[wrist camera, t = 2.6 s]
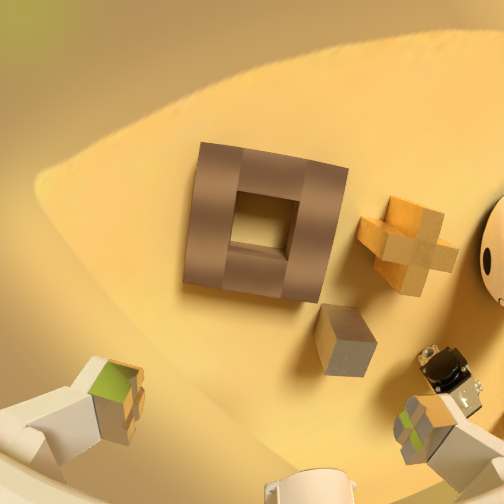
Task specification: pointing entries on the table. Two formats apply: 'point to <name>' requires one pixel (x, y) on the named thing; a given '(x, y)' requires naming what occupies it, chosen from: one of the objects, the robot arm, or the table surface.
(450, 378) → the pneumatic valve
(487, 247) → the milk container
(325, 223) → the block
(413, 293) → the cross bit
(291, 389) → the table surface
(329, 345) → the square bit
